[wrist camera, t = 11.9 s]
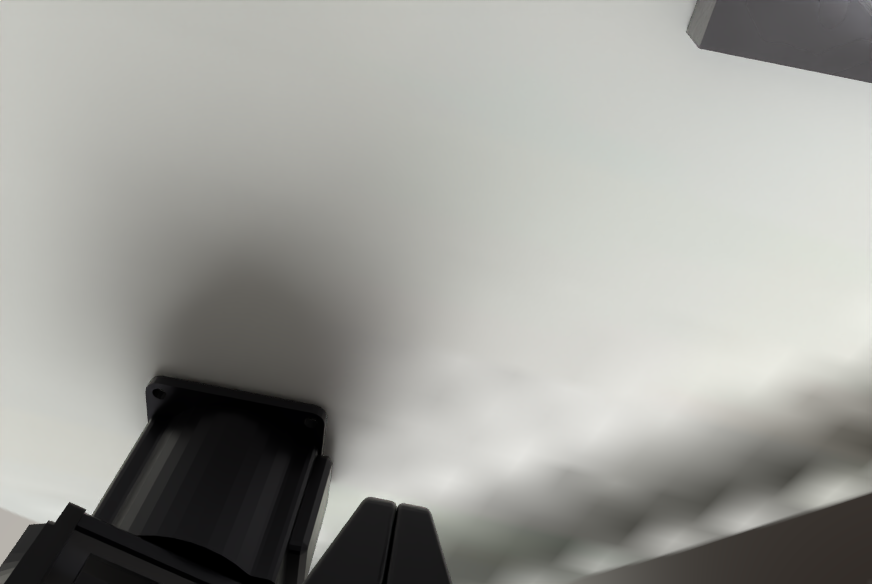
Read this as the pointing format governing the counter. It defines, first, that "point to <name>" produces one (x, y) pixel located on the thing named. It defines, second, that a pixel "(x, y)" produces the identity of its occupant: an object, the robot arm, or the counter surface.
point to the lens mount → (790, 33)
